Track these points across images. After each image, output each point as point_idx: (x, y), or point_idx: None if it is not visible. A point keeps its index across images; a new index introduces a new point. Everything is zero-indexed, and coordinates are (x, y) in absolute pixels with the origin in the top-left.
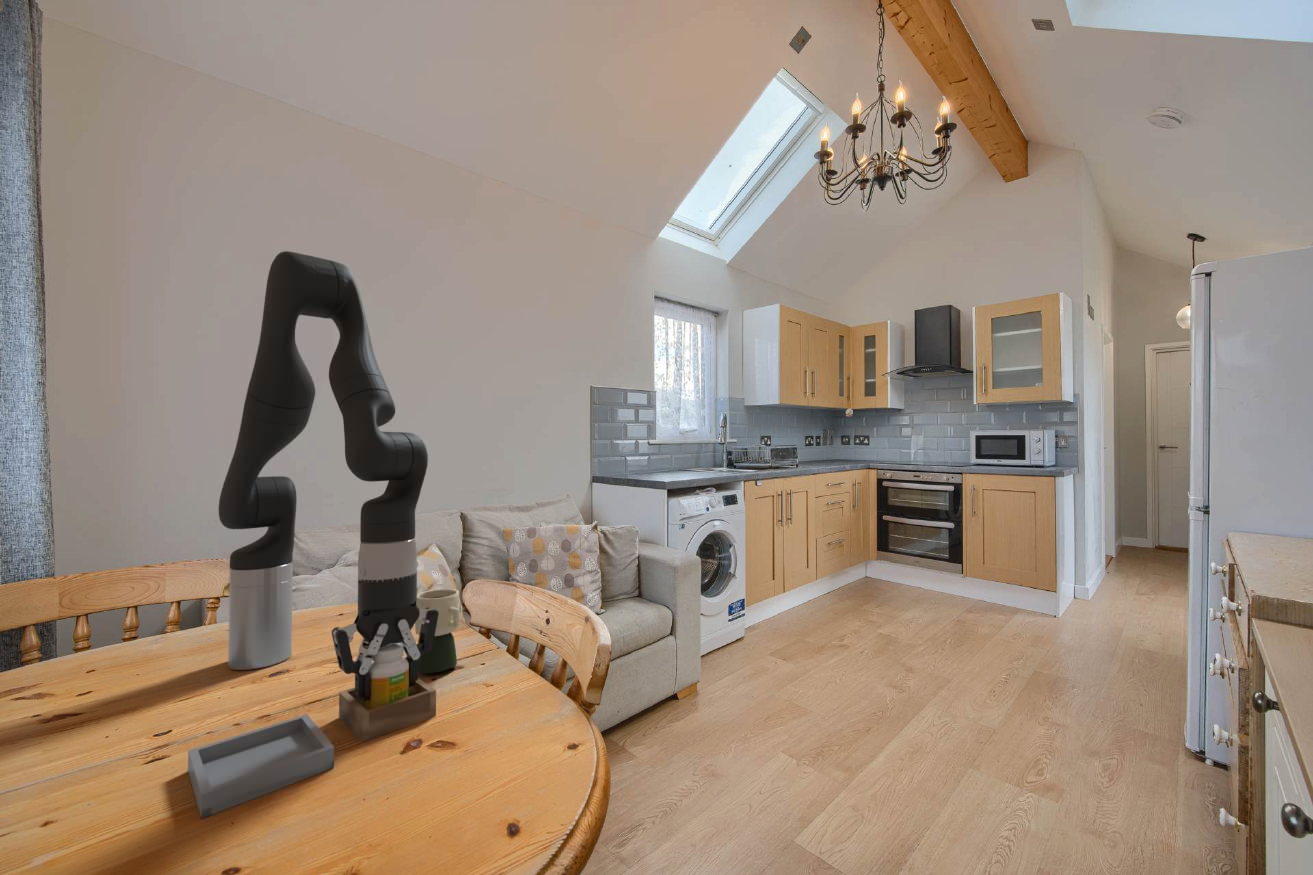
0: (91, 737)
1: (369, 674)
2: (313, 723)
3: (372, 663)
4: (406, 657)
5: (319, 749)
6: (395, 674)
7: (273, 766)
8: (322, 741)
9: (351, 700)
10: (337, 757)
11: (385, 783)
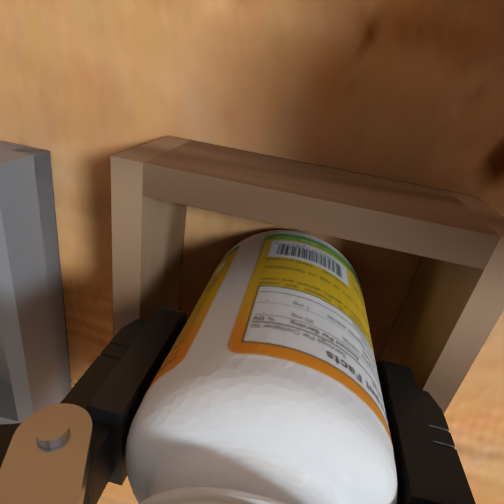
0: None
1: (118, 480)
2: (7, 272)
3: (159, 457)
4: (430, 502)
5: (6, 420)
6: None
7: None
8: (18, 394)
9: (125, 302)
10: (89, 366)
11: (130, 501)
